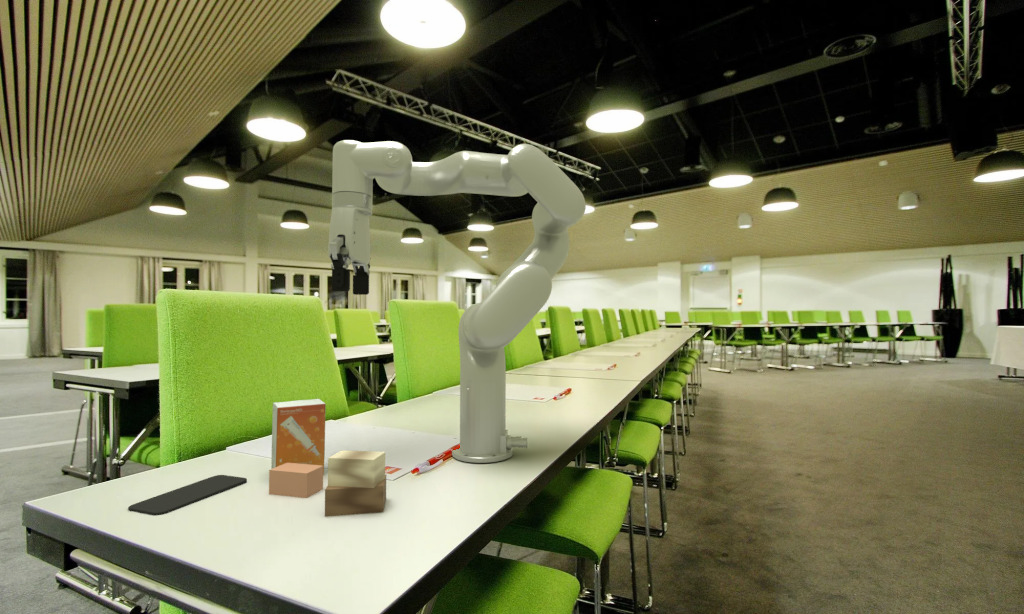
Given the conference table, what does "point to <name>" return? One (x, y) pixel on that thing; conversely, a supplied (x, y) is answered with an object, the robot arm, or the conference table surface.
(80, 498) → the conference table surface
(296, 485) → the terracotta brick
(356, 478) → the ash brick
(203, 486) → the phone
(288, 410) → the small box
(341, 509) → the walnut brick
